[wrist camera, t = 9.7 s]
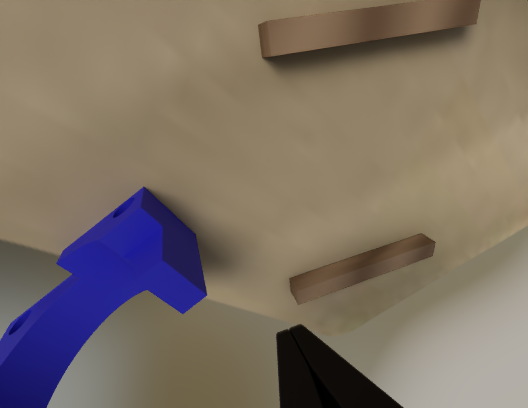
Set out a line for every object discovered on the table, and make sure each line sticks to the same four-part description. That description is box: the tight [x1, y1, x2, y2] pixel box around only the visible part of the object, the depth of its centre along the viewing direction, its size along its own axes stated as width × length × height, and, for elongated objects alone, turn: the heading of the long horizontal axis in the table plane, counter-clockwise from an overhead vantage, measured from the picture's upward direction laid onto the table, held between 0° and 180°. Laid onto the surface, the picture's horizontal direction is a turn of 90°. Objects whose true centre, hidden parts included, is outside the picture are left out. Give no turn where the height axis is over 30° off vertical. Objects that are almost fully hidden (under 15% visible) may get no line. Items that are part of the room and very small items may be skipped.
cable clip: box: [0, 187, 207, 408], centre depth 15 cm, size 12×4×6 cm, turn 124°
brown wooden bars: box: [258, 0, 481, 305], centre depth 20 cm, size 13×19×2 cm
